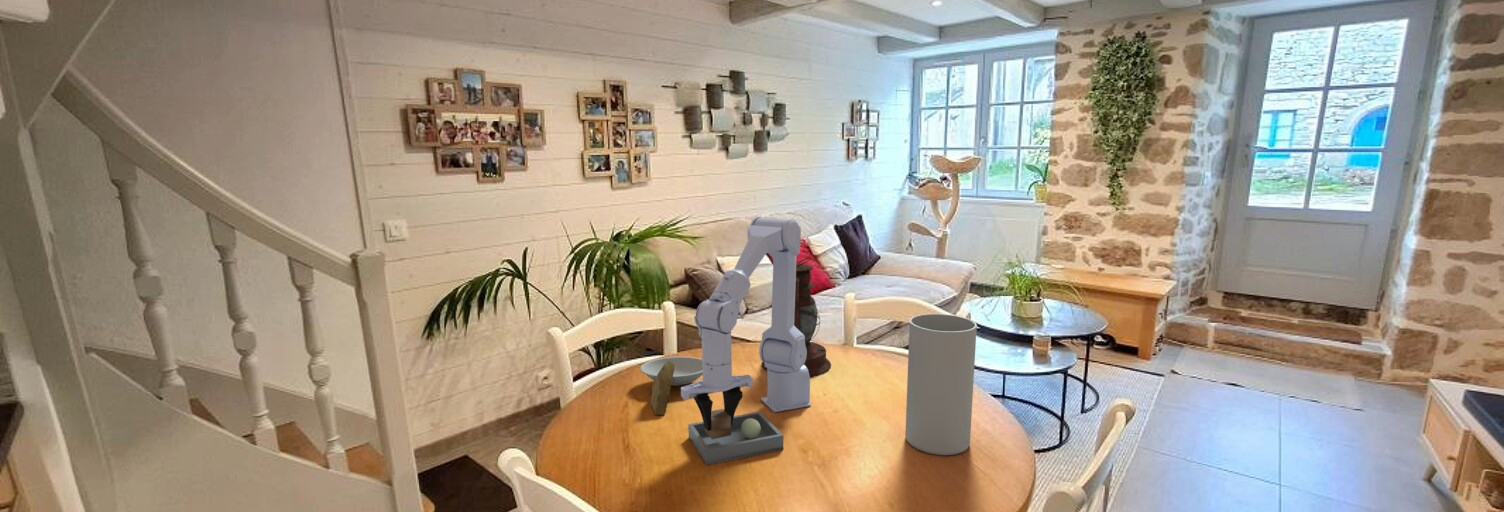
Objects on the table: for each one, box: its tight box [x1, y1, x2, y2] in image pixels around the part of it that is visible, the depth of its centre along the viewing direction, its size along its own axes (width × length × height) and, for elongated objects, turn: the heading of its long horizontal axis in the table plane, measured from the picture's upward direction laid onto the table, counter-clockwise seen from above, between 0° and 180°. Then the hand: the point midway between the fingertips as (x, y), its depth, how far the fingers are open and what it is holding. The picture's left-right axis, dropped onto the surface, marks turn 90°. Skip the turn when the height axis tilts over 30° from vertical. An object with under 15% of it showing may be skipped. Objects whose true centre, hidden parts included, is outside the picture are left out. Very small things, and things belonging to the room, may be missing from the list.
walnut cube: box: [705, 408, 731, 440], centre depth 123 cm, size 4×4×4 cm
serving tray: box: [687, 411, 784, 466], centre depth 124 cm, size 16×12×3 cm
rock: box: [649, 362, 675, 416], centre depth 142 cm, size 11×9×10 cm
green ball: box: [741, 418, 761, 439], centre depth 125 cm, size 4×4×4 cm
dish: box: [639, 356, 703, 387], centre depth 155 cm, size 18×14×5 cm
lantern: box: [761, 256, 832, 378], centre depth 166 cm, size 19×19×30 cm
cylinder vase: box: [904, 313, 978, 456], centre depth 122 cm, size 12×12×25 cm
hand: (718, 426), depth 123 cm, fingers closed on walnut cube, 4 cm apart
